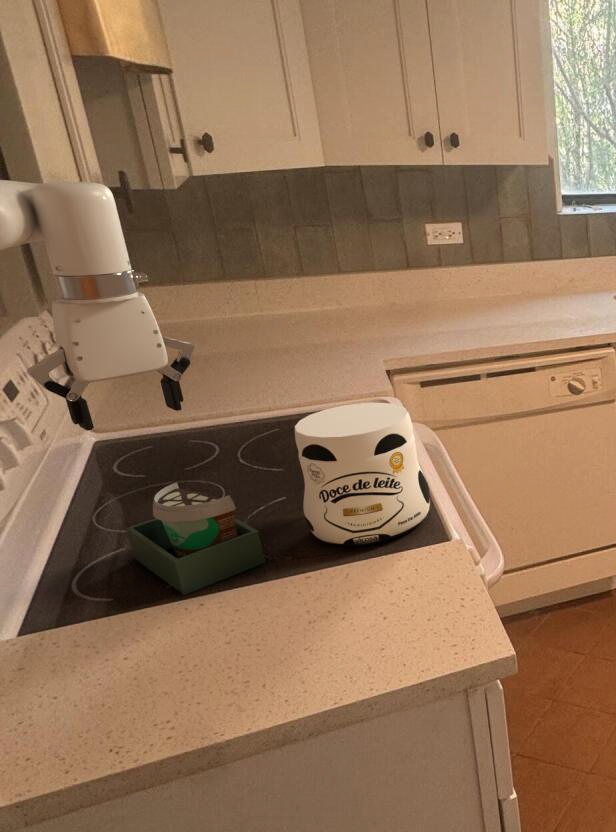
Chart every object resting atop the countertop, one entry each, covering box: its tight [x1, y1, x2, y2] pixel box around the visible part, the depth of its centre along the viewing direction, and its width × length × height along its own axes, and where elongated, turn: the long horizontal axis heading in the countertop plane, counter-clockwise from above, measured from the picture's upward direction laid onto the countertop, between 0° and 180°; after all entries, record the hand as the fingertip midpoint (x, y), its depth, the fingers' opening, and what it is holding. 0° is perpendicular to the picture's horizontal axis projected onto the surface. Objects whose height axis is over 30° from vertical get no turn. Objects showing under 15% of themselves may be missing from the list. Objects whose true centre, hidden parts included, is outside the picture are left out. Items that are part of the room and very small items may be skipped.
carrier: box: [125, 517, 266, 596], centre depth 110 cm, size 16×10×6 cm, turn 55°
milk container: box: [294, 402, 431, 547], centre depth 117 cm, size 17×17×18 cm
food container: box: [152, 482, 238, 559], centre depth 109 cm, size 12×6×10 cm, turn 67°
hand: (132, 417), depth 102 cm, fingers open, 9 cm apart
